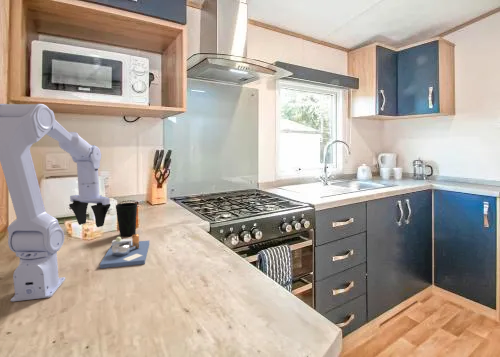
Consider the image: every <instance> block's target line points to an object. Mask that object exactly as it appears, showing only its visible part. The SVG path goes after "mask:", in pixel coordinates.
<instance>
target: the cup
mask: <svg viewBox="0 0 500 357" xmlns="http://www.w3.org/2000/svg"><path fill="white" fill-rule="evenodd" d="M115 212H116V217H117V218H116V219H117V224H118V229H119V230H118V231H119V237H121V238H129V237H132V235H133V234H137V232H136V231H137V216H138V214H137V212H138V204H137V203H135V202H123V203H118V204H115Z"/></svg>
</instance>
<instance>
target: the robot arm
mask: <svg viewBox="0 0 500 357" xmlns="http://www.w3.org/2000/svg"><path fill="white" fill-rule="evenodd" d="M46 135H47V136H49V137H51V139H53V140H55V141H57V142H58V146H59V148H60V149H61V150H63V151H64V152H66V153H67V154H69V156H70V157H71V159H72V161H73V162H74V163H76V172H77V173H76V174H77V185H78V186H77V188H78V189H77V190H78V194H75V195H70V196H69V200H70V202H71V203H69V205H68V206H69V208H70V209H71V210H72V212H73V214H74V216H75V218H76V222H77V223H78V225H79V226H81V225H84V224H86V223H87V210H88V205H89V204H93V205H90V208H91V210H92V213H93V216H94V220H95V226H96V228H101V227H103V226H104V224H105V219H106V217H107V213H108V212H109V210H110V207H111V203H110V197H107V196H106V197H105V196H102V194H100V180H99V178H100V177H99V169H100V167H101V159H102V152H101V150H100V147H99V146H96V145H95V144H90V143H89V142H88V141H87V140H85V139H84V138H83V137H81V136H80V135H79V133H78V132H77V131H68V130H67V129H66V128H64V126H63V125H62V124H60V123H59V122H58V121H57V120H56V116H55V113H54V110H52V109H50V108H49V107H48V105H46V104H43V103H35V104H33V103H32V104H31V103H29V104H25V103H24V104H19V103H18V104H16V103H14V104H11V103H9V104H8V103H0V165H1V169H2V173H3V176H4V178H5V179H4V180H5V182H6V186H7V189H8V194H9V196H10V198H11V203H12V206H13V209H14V213H15V215H16V219H15V220H13V221H12V222H11V223H10V224H9V225H8V227H7V232H8V237H7V238H8V241H7V245H8V248H9V250H10V251H12V252H13V253H15V257H17V258H19V264H18V265H17V267H16V268H15V269H14V272H13V274H12V276H13V277H12V279H13V286H14V290H13V291H14V295H13V296H12V298H11V299H10V302H20V301H21V302H22V301H29V300H36V299H45V298H50V297H53V295H54V294H55V293H56V291H57V290H58V289H59V287H60V286H61V285H62V284H63V283H64V282H65V280H66V277H65V276H63V277H59V266H58V255H57V254H58V253H57V252H59V251H60V249H61V248H62V246H63V245H64V242H65V233H64V230H63V228H62V227H61V226H60V223H59V220H58V219H57V218H56V217H54V216H52V215H51V214H49V213H48V212H46V208H45V204H44V199H43V195H42V193H41V188H40V184H39V181H38V177H37V173H36V169H35V165H34V161H33V157H32V153H31V147H32V146H33V145H34V144H36V143H37V142H39V141H40V140H41V139H42V138H44V136H46Z"/></svg>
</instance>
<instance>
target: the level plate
mask: <svg viewBox="0 0 500 357" xmlns="http://www.w3.org/2000/svg"><path fill="white" fill-rule="evenodd" d="M127 242H129V245H130V246H132V245H133V243H132V238H123V239H122V237H121V236H117V237H116V238H115V239H113V240H112V241H111V245H110V247H109V249H108V250H107V252H106V254H105V255H104V257H103V258H102V260H101V261H100V264H99V269H107V268H118V267H129V266H139V265H145V264H146V259H147V257H148V251H149V248H150V240H139V248H138V249H132V250H130V253H129V254H127V255H124V256H113V255H112V246H113V245H115V244H119V243H127Z"/></svg>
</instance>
